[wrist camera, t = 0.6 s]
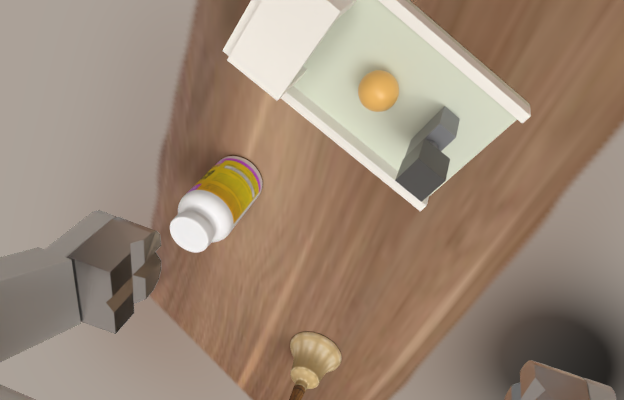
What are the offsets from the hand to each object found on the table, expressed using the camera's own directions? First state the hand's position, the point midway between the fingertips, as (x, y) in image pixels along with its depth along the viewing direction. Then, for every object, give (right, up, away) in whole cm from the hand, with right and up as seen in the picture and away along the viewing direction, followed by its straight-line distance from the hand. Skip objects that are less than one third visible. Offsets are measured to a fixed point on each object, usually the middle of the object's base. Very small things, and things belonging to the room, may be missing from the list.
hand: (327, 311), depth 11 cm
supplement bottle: (-9, +5, +53) cm, 55 cm away
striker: (+12, +10, +40) cm, 43 cm away
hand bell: (0, -21, +67) cm, 70 cm away
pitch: (+6, +15, +41) cm, 44 cm away
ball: (+6, +13, +38) cm, 41 cm away
